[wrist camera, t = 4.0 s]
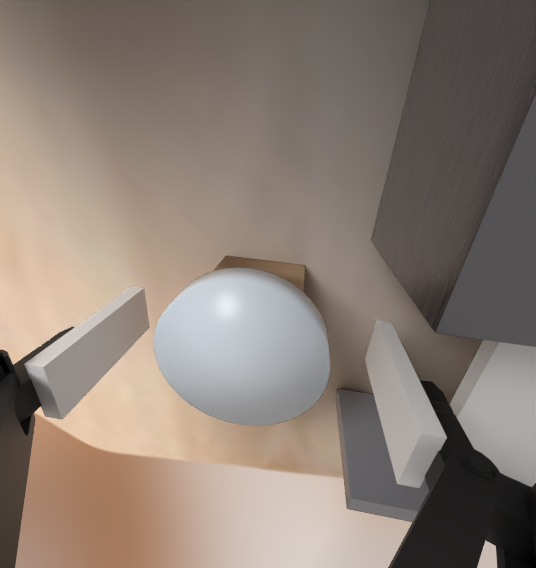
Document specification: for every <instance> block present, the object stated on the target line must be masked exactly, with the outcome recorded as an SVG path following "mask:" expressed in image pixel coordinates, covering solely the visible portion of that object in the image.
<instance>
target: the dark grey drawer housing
mask: <svg viewBox="0 0 536 568" xmlns="http://www.w3.org/2000/svg"><path fill="white" fill-rule="evenodd" d="M371 241H372V242H373V244H374V245H375V247H376V248H377V250H378V251H379V252H380V254H381V255H382V257H383V258H384V260H385V261H386V263H387V264H388V265H389V267H390V268H391V270H392V271H393V273H394V274H395V276H396V277H397V279H398V280H399V281H400V283H401V284H402V286H403V287H404V289H405V290H406V292H407V293H408V294H409V296H410V297H411V299H412V300H413V302H414V303H415V305H416V306H417V308H418V309H419V310H420V312H421V313H422V315H423V316H424V318H425V319H426V321H427V322H428V323H429V325H430V326H431V328H432V329H433V331H434V332H435V333H438V334H445V335H452V336H459V337H467V338H474V339H481V340H488V341H496V342H503V343H510V344H517V345H525V346H532V347H536V0H431V1H430V5H429V9H428V13H427V17H426V21H425V25H424V29H423V33H422V37H421V41H420V45H419V49H418V53H417V57H416V61H415V65H414V69H413V73H412V77H411V81H410V85H409V89H408V93H407V97H406V101H405V105H404V109H403V114H402V118H401V122H400V126H399V130H398V134H397V138H396V142H395V146H394V150H393V154H392V158H391V162H390V166H389V170H388V174H387V178H386V182H385V186H384V190H383V194H382V198H381V202H380V206H379V210H378V214H377V218H376V222H375V227H374V231H373V235H372V239H371Z"/></svg>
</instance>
